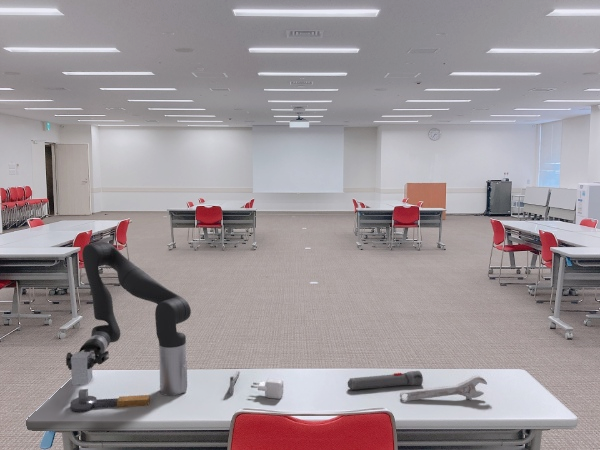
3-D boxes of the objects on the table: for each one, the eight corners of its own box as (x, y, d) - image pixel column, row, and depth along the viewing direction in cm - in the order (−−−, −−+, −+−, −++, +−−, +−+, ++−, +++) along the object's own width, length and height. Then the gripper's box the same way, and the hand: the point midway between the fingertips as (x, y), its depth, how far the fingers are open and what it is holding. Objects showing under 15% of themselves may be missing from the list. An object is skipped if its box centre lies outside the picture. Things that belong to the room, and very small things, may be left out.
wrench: (400, 406, 167) (486, 396, 167) (401, 409, 165) (488, 399, 165) (398, 384, 166) (484, 374, 166) (399, 386, 164) (486, 376, 164)
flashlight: (346, 388, 175) (346, 374, 175) (417, 381, 182) (417, 368, 181) (350, 393, 171) (350, 380, 170) (423, 386, 177) (423, 373, 176)
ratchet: (151, 397, 167) (150, 382, 166) (147, 408, 159) (146, 392, 158) (74, 402, 163) (74, 386, 163) (67, 413, 155) (66, 396, 155)
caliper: (232, 396, 169) (232, 378, 168) (229, 396, 169) (229, 378, 168) (239, 373, 189) (239, 357, 188) (237, 373, 189) (236, 357, 188)
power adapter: (249, 397, 167) (249, 380, 167) (254, 391, 172) (254, 375, 172) (280, 400, 165) (280, 384, 164) (284, 394, 169) (284, 378, 169)
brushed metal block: (92, 377, 162) (91, 351, 161) (88, 383, 157) (87, 357, 156) (76, 378, 161) (75, 352, 160) (71, 384, 156) (71, 357, 155)
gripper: (72, 339, 171) (55, 356, 155) (114, 337, 173) (102, 354, 157) (73, 359, 172) (56, 378, 155) (115, 357, 174) (102, 376, 157)
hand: (79, 366), depth 156 cm, fingers closed on brushed metal block, 5 cm apart
